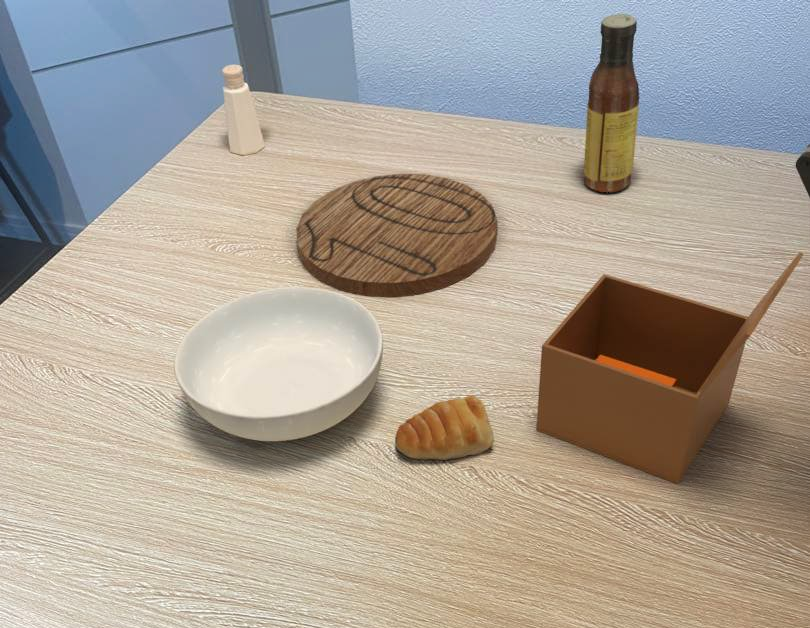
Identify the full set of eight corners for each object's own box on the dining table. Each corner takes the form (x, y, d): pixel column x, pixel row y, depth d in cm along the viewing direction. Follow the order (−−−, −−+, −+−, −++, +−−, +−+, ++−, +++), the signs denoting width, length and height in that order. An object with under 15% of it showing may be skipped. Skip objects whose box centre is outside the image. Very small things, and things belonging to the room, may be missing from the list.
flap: (752, 310, 83) (756, 313, 83) (698, 390, 76) (702, 393, 76) (800, 251, 77) (804, 254, 77) (745, 333, 70) (750, 335, 70)
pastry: (408, 476, 88) (405, 447, 85) (386, 432, 92) (383, 402, 89) (499, 451, 89) (499, 421, 86) (474, 408, 93) (474, 379, 90)
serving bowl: (299, 314, 105) (290, 262, 100) (429, 393, 95) (426, 339, 90) (150, 404, 97) (131, 352, 91) (274, 502, 86) (261, 449, 81)
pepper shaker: (224, 155, 132) (206, 76, 123) (234, 137, 135) (218, 59, 127) (260, 156, 131) (245, 76, 122) (270, 138, 134) (256, 59, 126)
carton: (728, 404, 91) (752, 317, 83) (677, 484, 85) (698, 398, 77) (593, 358, 97) (603, 273, 89) (536, 430, 91) (541, 345, 83)
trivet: (432, 319, 103) (431, 305, 102) (258, 263, 113) (255, 250, 111) (532, 213, 116) (532, 199, 115) (368, 171, 126) (367, 158, 125)
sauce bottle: (638, 177, 121) (661, 14, 106) (618, 199, 117) (639, 34, 102) (592, 166, 123) (608, 6, 108) (572, 188, 120) (585, 25, 105)
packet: (670, 410, 91) (676, 379, 88) (650, 441, 88) (656, 409, 85) (596, 385, 94) (600, 354, 91) (574, 413, 91) (577, 382, 88)
